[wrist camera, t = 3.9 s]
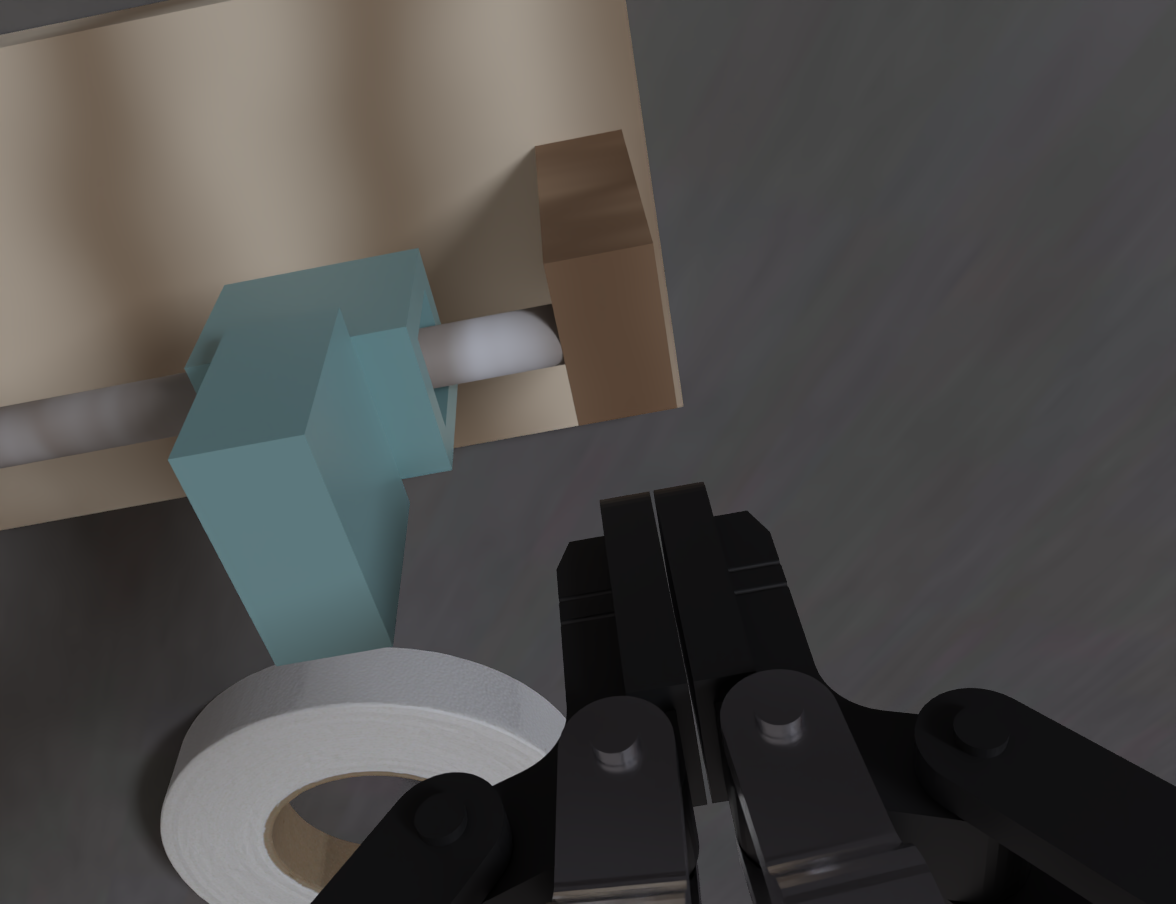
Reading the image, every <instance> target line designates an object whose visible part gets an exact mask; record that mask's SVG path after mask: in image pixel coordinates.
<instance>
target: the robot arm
mask: <svg viewBox="0 0 1176 904" xmlns="http://www.w3.org/2000/svg"><path fill="white" fill-rule="evenodd" d="M654 498H655V504H656V510H657V516H658V523H659V529H660V535H661V541H662V547H663V553H664V559H665V566H666V572H667V577H668V582H667V577H666V572H665V567H664V562H663V557H662V552H661V547H660V542H659V537H658V532H657V527H656V522H655V517H654V512H653V507H652V502H651V497H650V493H649V492H643V493H638V494H632V495H627V496H621V497H615V498H610V499H604V500H600V507H601V515H602V522H603V530H604V536H601V537H595V538H590V539H584V540H578V541H573V542H569V544H568V546H567V548H566V550H565V553H564V555H563V557H562V559H561V561H560V563H559V566H558V568H557V581H558V595H559V602H560V603H559V608H560V621H561V635H562V649H563V663H564V676H565V690H566V703H567V717H566V722H565V726H564V729H563V731H562V733H561V736H560V738H559V739H558V741H557V743H556V744H555V745H554V747H553V748H552V749H551V750H550V752H549V753H547V754H546V755H545V756H544V757H543V758H542V759H541V760H540V761H538V762H537V763H536V764H534V765H533V766H531V767H529V768H528V769H526V770H524V771H522V772H520V773H518V774H516V775H514V776H512V777H510V778H508V779H506V780H503V781H501V782H499V783H497V784H495V785H493V786H492V785H491V784H490V783H489V782H487V781H486V780H484V779H483V778H481V777H479V776H476V775H474V774H469V773H464V772H450V773H443V774H439V775H436V776H433V777H430V778H428V779H426V780H424V781H422V782H420V783H418V784H417V785H415V786H414V787H412V788H411V789H410V790H409V791H407V792H406V793H405V794H404V795H403V796H402V797H401V798H400V799H399V800H398V802H397V803H396V804H395V805H394V806H393V807H392V809H391V810H390V811H389V812H388V813H387V814H386V816H385V817H384V818H383V819H382V820H381V821H380V823H379V824H378V825H377V826H376V827H375V828H374V830H373V831H372V832H371V833H370V834H369V835H368V837H367V838H366V839H365V840H364V841H363V842H362V844H361V845H360V846H359V847H358V848H357V850H356V851H355V852H354V853H353V854H352V855H351V857H350V858H349V859H348V860H347V861H346V862H345V864H344V865H343V866H342V867H341V868H340V869H339V871H338V872H337V873H336V874H335V875H334V876H333V878H332V879H331V880H330V881H329V882H328V883H327V885H326V886H325V887H324V888H323V889H322V890H321V892H320V893H319V894H318V895H317V896H316V898H315V899H314V900H313V901H312V902H311V903H310V904H702V903H701V893H700V882H699V872H698V865H697V859H698V855H699V839H698V833H697V828H696V822H695V816H694V810H693V807H695V806H701V805H707V800H706V794H705V787H704V781H703V775H702V769H701V762H700V756H699V750H698V744H697V737H696V731H695V725H694V719H693V712H692V706H691V700H692V705H693V709H694V714H695V719H696V724H697V729H698V734H699V739H700V744H701V749H702V754H703V759H704V764H705V769H706V774H707V779H708V784H709V789H710V794H711V799H712V803H717V802H723V801H729V804H730V809H731V814H732V818H733V823H734V827H735V832H736V840H737V847H738V854H739V859H740V863H741V866H742V870H743V873H744V876H745V880H746V883H747V886H748V890H749V893H750V896H751V900H752V903H753V904H1176V786H1174V785H1172V784H1170V783H1168V782H1166V781H1165V780H1163V779H1161V778H1159V777H1157V776H1155V775H1153V774H1152V773H1150V772H1148V771H1146V770H1144V769H1142V768H1140V767H1139V766H1137V765H1135V764H1133V763H1131V762H1129V761H1127V760H1126V759H1124V758H1122V757H1120V756H1118V755H1116V754H1115V753H1113V752H1111V751H1109V750H1107V749H1105V748H1103V747H1102V746H1100V745H1098V744H1096V743H1094V742H1092V741H1091V740H1089V739H1087V738H1085V737H1083V736H1081V735H1079V734H1078V733H1076V732H1074V731H1072V730H1070V729H1068V728H1066V727H1065V726H1063V725H1061V724H1059V723H1057V722H1055V721H1054V720H1052V719H1050V718H1048V717H1046V716H1044V715H1042V714H1041V713H1039V712H1037V711H1035V710H1033V709H1031V708H1029V707H1028V706H1026V705H1024V704H1022V703H1020V702H1018V701H1017V700H1015V699H1013V698H1010V697H1008V696H1006V695H1004V694H1001V693H998V692H995V691H991V690H986V689H978V688H963V689H956V690H951V691H948V692H945V693H942V694H940V695H938V696H936V697H935V698H933V699H931V700H930V701H929V702H928V703H927V704H926V705H925V706H924V707H923V708H922V710H921V711H920V713H919V714H910V713H901V712H892V711H882V710H876V709H871V708H867V707H864V706H860V705H858V704H855V703H853V702H851V701H848V700H847V699H845V698H843V697H842V696H840V695H838V694H837V693H836V692H835V691H833V690H832V689H831V688H830V687H829V686H828V685H827V684H826V683H825V682H824V681H823V679H822V678H821V676H820V675H819V673H818V671H817V668H816V666H815V664H814V661H813V658H812V655H811V652H810V649H809V646H808V643H807V640H806V637H805V634H804V631H803V628H802V625H801V622H800V619H799V616H798V613H797V610H796V608H795V605H794V602H793V599H792V596H791V593H790V590H789V587H788V586H787V581H786V578H785V575H784V572H783V569H782V566H781V565H780V562H779V557H778V554H777V552H776V549H775V546H774V543H773V540H772V537H771V534H770V532H769V531H768V530H767V529H766V528H765V527H764V526H763V525H762V524H761V523H760V522H759V521H758V520H756V519H755V518H754V517H753V516H752V515H751V514H750V513H749V512H748V511H742V512H736V513H731V514H725V515H719V516H714V517H713V513H712V509H711V506H710V502H709V498H708V495H707V491H706V488H705V485H704V482H699V483H693V484H687V485H682V486H676V487H670V488H665V489H659V490H654ZM668 583H669V587H668ZM669 589H670V592H669ZM670 594H671V597H670ZM671 600H672V602H671ZM672 605H673V607H672ZM673 610H674V612H673ZM674 615H675V617H674ZM675 620H676V622H675ZM676 625H677V627H676ZM677 630H678V632H677ZM678 635H679V637H678ZM679 640H680V642H679ZM680 645H681V647H680ZM681 650H682V652H681ZM682 655H683V657H682ZM683 660H684V662H683ZM684 665H685V667H684ZM685 670H686V672H685ZM686 675H687V677H686ZM687 680H688V682H687ZM688 685H689V687H688ZM689 690H690V694H689ZM690 695H691V700H690Z"/></svg>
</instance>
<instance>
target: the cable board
mask: <svg viewBox="0 0 1176 904" xmlns="http://www.w3.org/2000/svg"><path fill="white" fill-rule="evenodd" d="M416 248H419V251H420V255H421V258H422V261H423V265H424V268H425V272H426V275H427V278H428V282H429V285H430V289H431V292H432V295H433V299H434V302H435V305H436V309H437V312H438V316H439V319H440V322H441V324H440V325H435V326H430V327H424V328H419V333H418V341H419V344H420V348H421V351H422V354H423V357H424V360H425V364H426V367H427V370H428V373H429V376H430V379H431V383H432V386H433V389H434V388H440V387H445V386H451V385H456V384H458V389H457V404H456V419H455V433H454V448H457V447H463V446H468V445H474V444H479V443H485V442H490V441H496V440H501V439H507V438H512V437H518V436H524V435H529V434H535V433H540V432H546V431H551V430H557V429H562V428H568V427H573V426H580V425H585V424H591V423H596V422H602V421H607V420H613V419H618V418H624V417H629V416H635V415H641V414H646V413H652V412H657V411H663V410H668V409H674V408H678V407H683V400H682V393H681V386H680V379H679V372H678V365H677V358H676V351H675V344H674V337H673V330H672V323H671V316H670V309H669V302H668V295H667V288H666V281H665V274H664V267H663V260H662V253H661V246H660V239H659V232H658V225H657V218H656V211H655V204H654V197H653V190H652V183H651V175H650V168H649V161H648V154H647V147H646V140H645V133H644V126H643V119H642V112H641V105H640V98H639V91H638V84H637V77H636V70H635V63H634V56H633V49H632V42H631V35H630V28H629V21H628V14H627V7H626V0H168V1H163V2H158V3H153V4H149V5H144V6H139V7H134V8H129V9H124V10H119V11H115V12H110V13H105V14H100V15H95V16H90V17H85V18H81V19H76V20H71V21H66V22H61V23H56V24H51V25H47V26H42V27H37V28H32V29H27V30H22V31H17V32H13V33H8V34H3V35H0V530H6V529H11V528H17V527H22V526H28V525H33V524H39V523H44V522H50V521H55V520H61V519H66V518H72V517H77V516H83V515H88V514H94V513H99V512H105V511H110V510H116V509H121V508H127V507H132V506H138V505H143V504H149V503H154V502H160V501H165V500H171V499H176V498H182V497H187V495H186V494H185V492H184V490H183V488H182V486H181V484H180V482H179V480H178V478H177V476H176V474H175V473H174V471H173V469H172V467H171V465H170V463H169V461H168V458H169V456H170V453H171V451H172V449H173V447H174V444H175V442H176V440H177V438H178V435H179V433H180V431H181V429H182V426H183V424H184V422H185V420H186V417H187V415H188V413H189V411H190V409H191V406H192V404H193V402H194V400H195V397H196V395H197V394H196V392H195V390H194V387H193V385H192V383H191V381H190V379H189V377H188V375H187V373H186V371H185V369H184V368H185V366H186V363H187V361H188V359H189V357H190V355H191V353H192V351H193V349H194V347H195V345H196V343H197V341H198V339H199V336H200V334H201V332H202V330H203V328H204V326H205V324H206V322H207V320H208V318H209V316H210V314H211V312H212V310H213V307H214V305H215V303H216V301H217V299H218V297H219V295H220V293H221V291H222V289H223V287H224V285H228V284H233V283H238V282H243V281H248V280H254V279H259V278H264V277H269V276H275V275H280V274H285V273H290V272H295V271H301V270H306V269H311V268H316V267H322V266H327V265H332V264H337V263H342V262H348V261H353V260H358V259H363V258H369V257H374V256H379V255H384V254H389V253H395V252H400V251H405V250H410V249H416Z"/></svg>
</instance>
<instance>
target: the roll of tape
mask: <svg viewBox="0 0 1176 904" xmlns="http://www.w3.org/2000/svg"><path fill="white" fill-rule="evenodd" d="M565 722H566V719H565V718H564V716H563V715H562V714H561V713H560V712H559V711H558V710H557V709H556V708H555V707H554V706H553V705H552V704H551V703H550V702H548V701H547V700H546V699H545V698H543V697H542V696H541V695H539V694H538V693H537V692H535V691H534V690H532V689H531V688H529V687H528V686H526V685H524V684H523V683H521V682H519V681H517V680H515V679H514V678H512V677H510V676H508V675H506V674H504V673H501V672H499V671H497V670H494V669H492V668H489V667H487V666H484V665H481V664H478V663H475V662H472V661H469V660H465V659H461V658H458V657H454V656H450V655H446V654H441V653H436V652H430V651H423V650H415V649H406V648H388V647H386V648H380V649H374V650H369V651H363V652H357V653H351V654H345V655H340V656H334V657H328V658H322V659H316V660H311V661H305V662H299V663H293V664H287V665H282V666H276V665H273V666H271V667H268V668H265V669H263V670H261V671H258V672H256V673H254V674H251V675H249V676H247V677H246V678H244V679H242V680H240V681H238V682H236V683H235V684H233V685H232V686H230V687H229V688H227V689H226V690H224V691H223V692H222V693H221V694H219V695H218V696H217V697H216V698H214V699H213V700H212V701H211V702H210V703H209V704H208V705H207V706H206V707H205V708H204V709H203V710H202V712H201V713H200V714H199V715H198V716H197V717H196V719H195V720H194V722H193V723H192V725H191V726H190V728H189V730H188V731H187V734H186V736H185V738H184V740H183V743H182V746H181V749H180V752H179V755H178V758H177V761H176V765H175V768H174V771H173V774H172V777H171V780H170V784H169V787H168V790H167V793H166V796H165V799H164V802H163V806H162V810H161V821H160V831H161V838H162V843H163V846H164V849H165V852H166V854H167V856H168V858H169V860H170V862H171V864H172V865H173V867H174V868H175V870H176V871H177V872H178V874H179V875H180V876H181V878H182V879H183V880H184V881H185V882H186V883H187V884H188V885H189V887H190V888H191V889H192V890H194V891H195V892H196V893H197V894H198V895H199V896H200V897H201V898H203V899H204V900H205V901H207V902H208V903H209V904H310V903H311V902H312V901H313V900H314V899H315V898H316V896H317V895H318V894H319V893H320V892H321V890H322V889H323V888H324V887H325V886H326V885H327V883H328V882H329V881H330V880H331V879H332V878H333V876H334V875H335V874H336V873H337V872H338V871H339V869H340V868H341V867H342V866H343V865H344V864H345V862H346V861H347V860H348V859H349V858H350V857H351V855H352V854H353V853H354V852H355V851H356V850H357V848H358V847H359V846H360V845H361V844H356V843H351V842H348V841H344V840H341V839H338V838H335V837H333V836H330V835H328V834H326V833H324V832H322V831H320V830H318V829H316V828H314V827H313V826H311V825H310V824H308V823H307V822H305V821H304V820H303V819H302V818H301V817H300V816H299V815H298V814H297V813H296V812H295V810H294V809H293V808H292V807H291V805H290V804H289V802H290V801H291V800H292V799H294V798H295V797H296V796H298V795H299V794H300V793H302V792H304V791H306V790H308V789H310V788H313V787H315V786H317V785H320V784H323V783H327V782H330V781H334V780H338V779H344V778H348V777H357V776H370V775H376V776H397V777H403V778H409V779H414V780H419V781H424V780H426V779H428V778H430V777H433V776H436V775H439V774H443V773H450V772H464V773H469V774H474V775H476V776H479V777H481V778H483V779H484V780H486V781H487V782H489V783H490V784H491V785H492V786H493V785H495V784H497V783H499V782H501V781H503V780H506V779H508V778H510V777H512V776H514V775H516V774H518V773H520V772H522V771H524V770H526V769H528V768H529V767H531V766H533V765H534V764H536V763H537V762H538V761H540V760H541V759H542V758H543V757H544V756H545V755H546V754H547V753H549V752H550V750H551V749H552V748H553V747H554V745H555V744H556V743H557V741H558V739H559V738H560V736H561V733H562V731H563V729H564V726H565Z"/></svg>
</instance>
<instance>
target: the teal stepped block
mask: <svg viewBox="0 0 1176 904" xmlns="http://www.w3.org/2000/svg"><path fill="white" fill-rule="evenodd" d="M440 324H441V322H440V319H439V316H438V312H437V309H436V305H435V302H434V299H433V295H432V292H431V289H430V285H429V282H428V278H427V275H426V272H425V268H424V265H423V261H422V258H421V255H420V251H419V248H416V249H410V250H405V251H400V252H395V253H389V254H384V255H379V256H374V257H369V258H363V259H358V260H353V261H348V262H342V263H337V264H332V265H327V266H322V267H316V268H311V269H306V270H301V271H295V272H290V273H285V274H280V275H275V276H269V277H264V278H259V279H254V280H248V281H243V282H238V283H233V284H228V285H224V287H223V289H222V291H221V293H220V295H219V297H218V299H217V301H216V303H215V305H214V307H213V310H212V312H211V314H210V316H209V318H208V320H207V322H206V324H205V326H204V328H203V330H202V332H201V334H200V336H199V339H198V341H197V343H196V345H195V347H194V349H193V351H192V353H191V355H190V357H189V359H188V361H187V363H186V366H185V368H184V369H185V371H186V373H187V375H188V377H189V379H190V381H191V383H192V385H193V387H194V390H195V392H196V394H197V395H196V397H195V400H194V402H193V404H192V406H191V409H190V411H189V413H188V415H187V417H186V420H185V422H184V424H183V426H182V429H181V431H180V433H179V435H178V438H177V440H176V442H175V444H174V447H173V449H172V451H171V453H170V456H169V458H168V461H169V463H170V465H171V467H172V469H173V471H174V473H175V474H176V476H177V478H178V480H179V482H180V484H181V486H182V488H183V490H184V492H185V494H186V495H187V497H188V499H189V501H190V503H191V505H192V507H193V509H194V511H195V513H196V514H197V516H198V518H199V520H200V522H201V524H202V526H203V528H204V530H205V532H206V533H207V535H208V537H209V539H210V541H211V543H212V545H213V547H214V549H215V551H216V552H217V554H218V556H219V558H220V560H221V562H222V564H223V566H224V568H225V570H226V572H227V573H228V575H229V577H230V579H231V581H232V583H233V585H234V587H235V589H236V591H237V592H238V594H239V596H240V598H241V600H242V602H243V604H244V606H245V608H246V610H247V611H248V613H249V615H250V617H251V619H252V621H253V623H254V625H255V627H256V629H257V631H258V632H259V634H260V636H261V638H262V640H263V642H264V644H265V646H266V648H267V650H268V651H269V653H270V655H271V657H272V659H273V661H274V663H275V665H276V666H282V665H287V664H293V663H299V662H305V661H311V660H316V659H322V658H328V657H334V656H340V655H345V654H351V653H357V652H363V651H369V650H374V649H380V648H386V647H392V646H393V641H394V633H395V624H396V616H397V607H398V599H399V590H400V582H401V573H402V565H403V557H404V548H405V540H406V531H407V523H408V514H409V506H410V502H409V499H408V496H407V494H406V491H405V488H404V485H403V482H402V480H401V479H405V478H411V477H416V476H422V475H427V474H433V473H438V472H444V471H449V470H452V463H453V448H454V433H455V419H456V404H457V389H458V384H456V385H451V386H445V387H440V388H434V389H433V386H432V383H431V379H430V376H429V373H428V370H427V367H426V364H425V360H424V357H423V354H422V351H421V348H420V344H419V341H418V333H419V328H424V327H430V326H435V325H440Z"/></svg>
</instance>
